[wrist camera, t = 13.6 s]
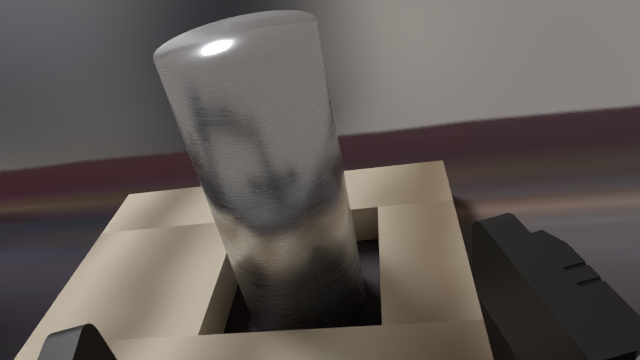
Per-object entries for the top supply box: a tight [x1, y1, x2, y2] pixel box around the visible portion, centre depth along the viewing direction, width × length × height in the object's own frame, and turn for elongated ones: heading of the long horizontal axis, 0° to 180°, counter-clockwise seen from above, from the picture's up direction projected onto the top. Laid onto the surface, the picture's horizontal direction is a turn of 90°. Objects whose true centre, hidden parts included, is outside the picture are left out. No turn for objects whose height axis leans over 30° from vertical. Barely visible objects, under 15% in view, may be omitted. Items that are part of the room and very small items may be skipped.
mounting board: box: [14, 160, 494, 360], centre depth 22 cm, size 18×14×2 cm
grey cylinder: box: [153, 10, 366, 332], centre depth 18 cm, size 6×5×12 cm
